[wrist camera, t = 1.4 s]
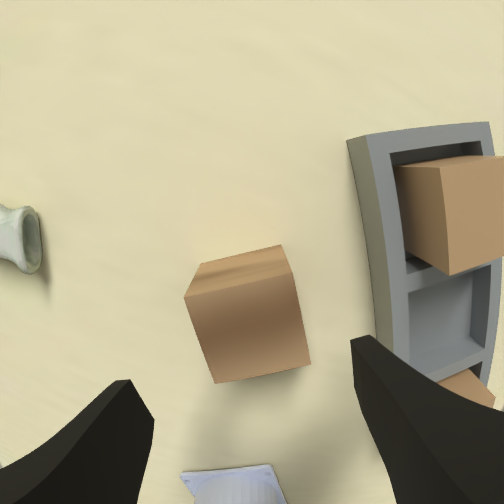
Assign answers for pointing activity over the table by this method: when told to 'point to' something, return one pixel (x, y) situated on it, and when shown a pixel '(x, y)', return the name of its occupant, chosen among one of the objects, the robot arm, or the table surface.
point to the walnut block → (248, 315)
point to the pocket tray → (413, 283)
